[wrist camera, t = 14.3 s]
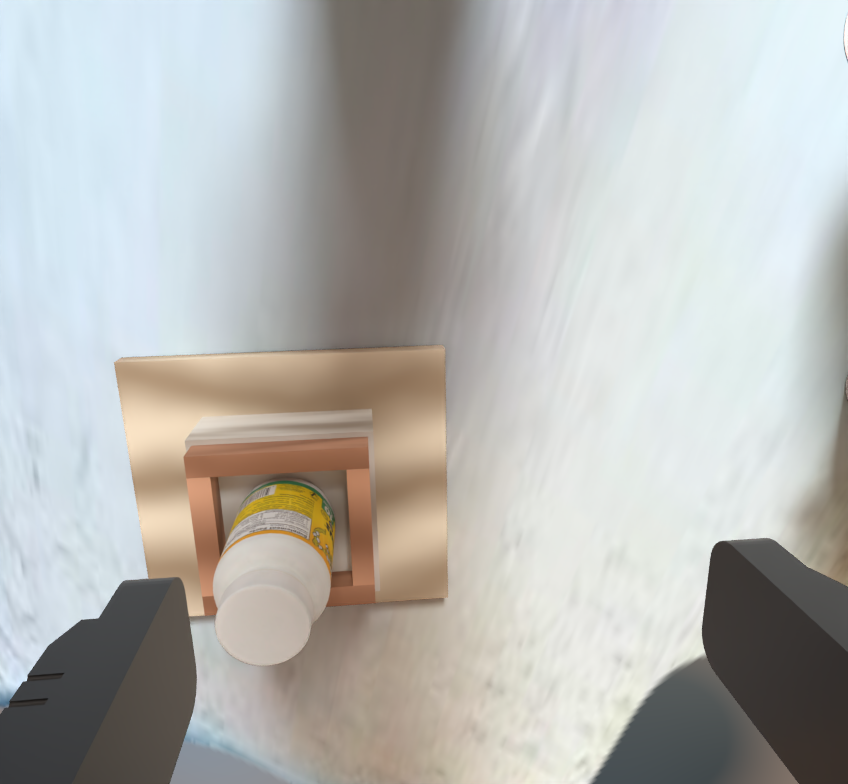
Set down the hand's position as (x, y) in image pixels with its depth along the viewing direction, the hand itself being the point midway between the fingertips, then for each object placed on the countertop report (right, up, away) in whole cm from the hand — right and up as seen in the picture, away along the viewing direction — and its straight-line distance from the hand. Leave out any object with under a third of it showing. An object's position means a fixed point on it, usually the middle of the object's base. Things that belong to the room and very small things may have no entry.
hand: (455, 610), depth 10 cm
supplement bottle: (-8, -4, +27) cm, 28 cm away
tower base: (-9, -2, +31) cm, 33 cm away
